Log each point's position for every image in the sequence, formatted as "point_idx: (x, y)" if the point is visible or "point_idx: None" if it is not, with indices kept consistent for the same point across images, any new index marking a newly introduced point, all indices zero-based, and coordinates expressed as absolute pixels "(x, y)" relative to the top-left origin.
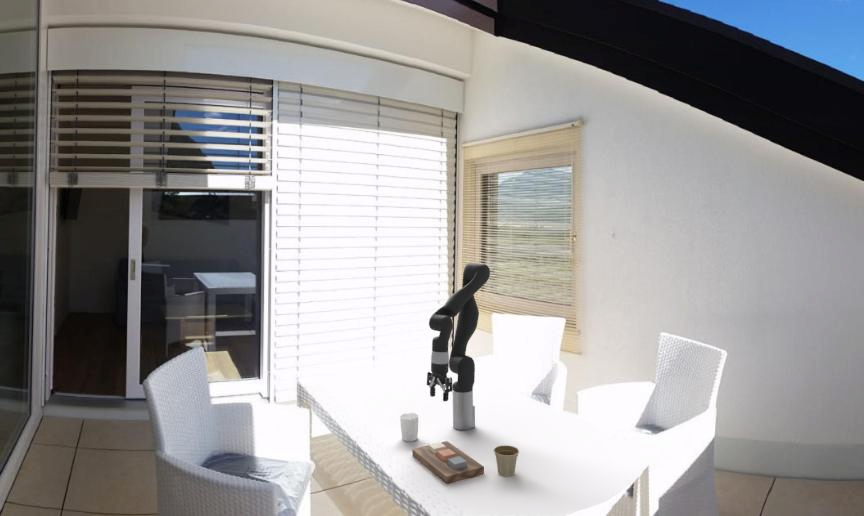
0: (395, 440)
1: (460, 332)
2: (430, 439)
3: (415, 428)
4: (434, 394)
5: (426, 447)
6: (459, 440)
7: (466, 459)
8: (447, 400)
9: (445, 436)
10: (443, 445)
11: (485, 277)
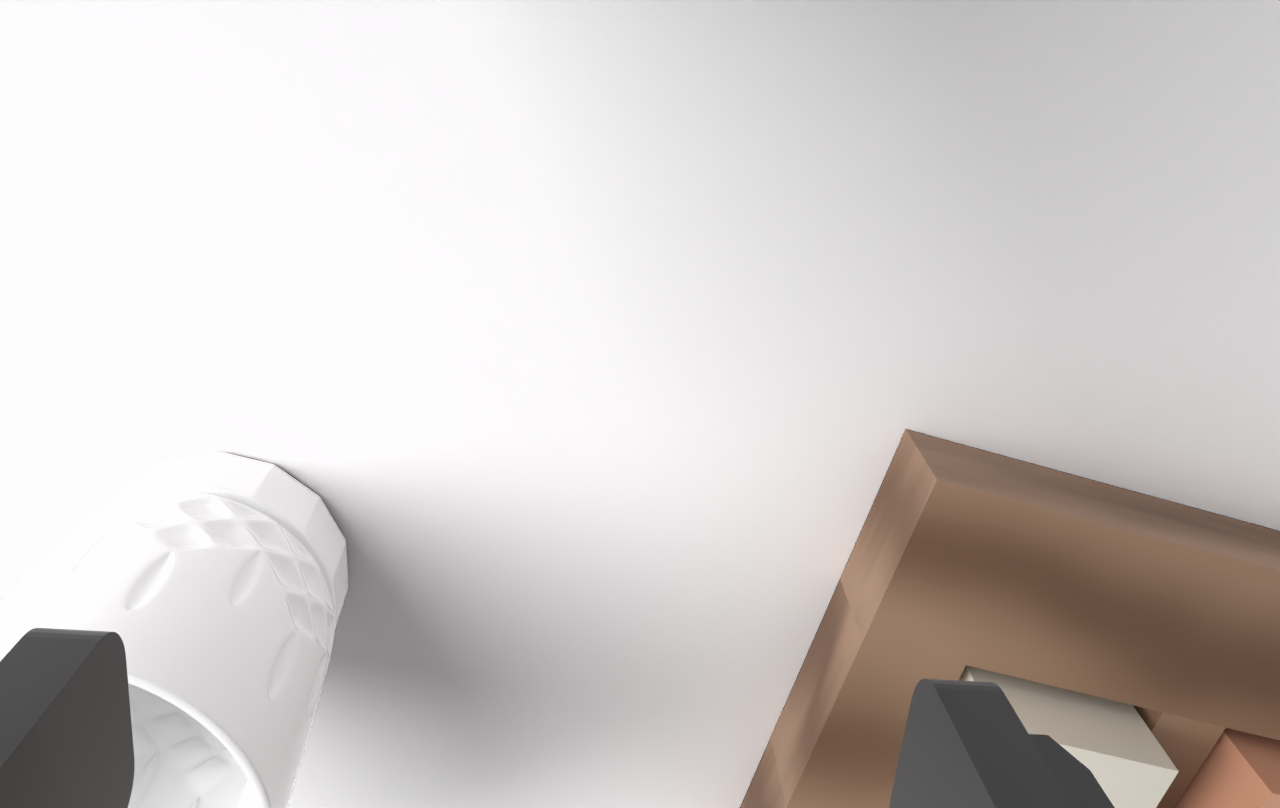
0: None
1: None
2: (478, 375)
3: (317, 674)
4: (88, 698)
5: (844, 803)
6: (876, 75)
7: None
8: (987, 697)
9: (564, 113)
10: (1136, 775)
11: None
